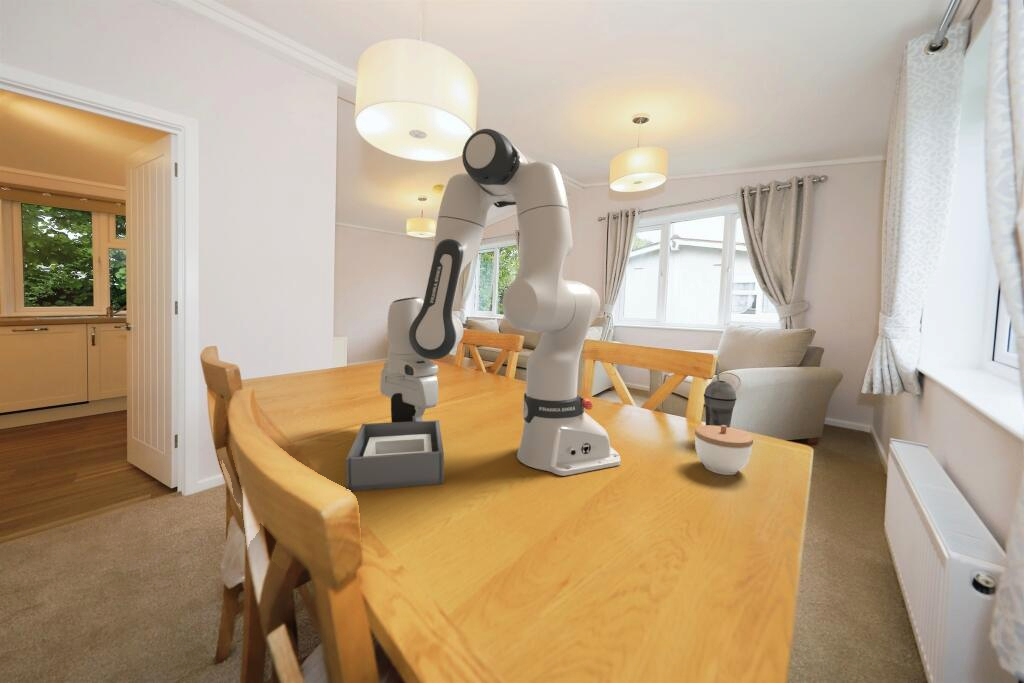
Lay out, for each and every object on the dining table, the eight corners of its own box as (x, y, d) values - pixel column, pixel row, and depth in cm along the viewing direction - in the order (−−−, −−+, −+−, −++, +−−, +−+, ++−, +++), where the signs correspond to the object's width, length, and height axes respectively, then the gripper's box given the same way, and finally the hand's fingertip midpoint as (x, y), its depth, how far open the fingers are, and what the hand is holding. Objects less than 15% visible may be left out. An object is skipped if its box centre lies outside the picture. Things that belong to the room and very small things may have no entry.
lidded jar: (762, 475, 79) (766, 430, 78) (724, 484, 75) (728, 437, 74) (716, 455, 89) (720, 416, 88) (681, 462, 85) (684, 420, 84)
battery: (423, 434, 99) (423, 390, 98) (417, 440, 95) (417, 394, 94) (397, 433, 100) (396, 389, 99) (390, 438, 96) (389, 392, 95)
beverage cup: (737, 448, 94) (744, 366, 92) (704, 445, 96) (710, 364, 93) (727, 438, 101) (733, 361, 99) (697, 435, 103) (702, 360, 101)
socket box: (438, 444, 92) (438, 420, 92) (443, 483, 73) (443, 452, 72) (362, 449, 89) (362, 423, 88) (346, 491, 69) (345, 459, 69)
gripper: (373, 360, 100) (374, 412, 102) (420, 370, 87) (420, 431, 88) (395, 357, 105) (396, 408, 106) (442, 367, 91) (443, 424, 93)
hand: (407, 418), depth 97 cm, fingers open, 7 cm apart
